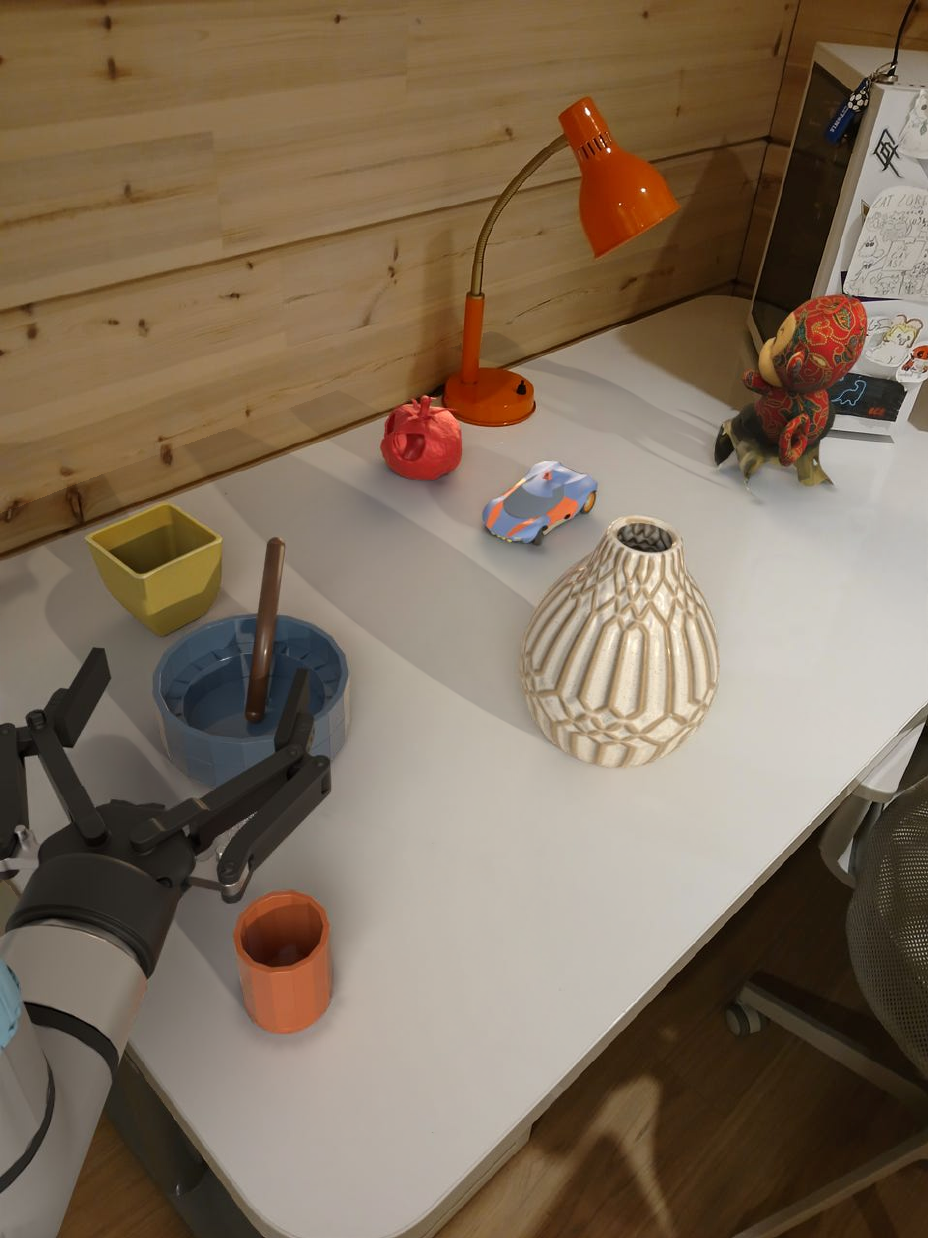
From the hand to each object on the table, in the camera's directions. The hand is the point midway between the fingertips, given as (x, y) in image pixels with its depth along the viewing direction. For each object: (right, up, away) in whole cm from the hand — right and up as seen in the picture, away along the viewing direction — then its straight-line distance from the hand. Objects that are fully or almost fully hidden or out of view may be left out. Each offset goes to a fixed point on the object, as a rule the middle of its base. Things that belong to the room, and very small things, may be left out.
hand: (203, 672), depth 64 cm
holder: (+6, -20, -2) cm, 21 cm away
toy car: (+25, +15, +43) cm, 52 cm away
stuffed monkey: (+54, +20, +53) cm, 78 cm away
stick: (0, -5, +15) cm, 16 cm away
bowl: (0, -5, +16) cm, 17 cm away
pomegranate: (+12, +22, +51) cm, 57 cm away
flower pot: (-11, +4, +27) cm, 29 cm away
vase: (+29, -6, +18) cm, 35 cm away
